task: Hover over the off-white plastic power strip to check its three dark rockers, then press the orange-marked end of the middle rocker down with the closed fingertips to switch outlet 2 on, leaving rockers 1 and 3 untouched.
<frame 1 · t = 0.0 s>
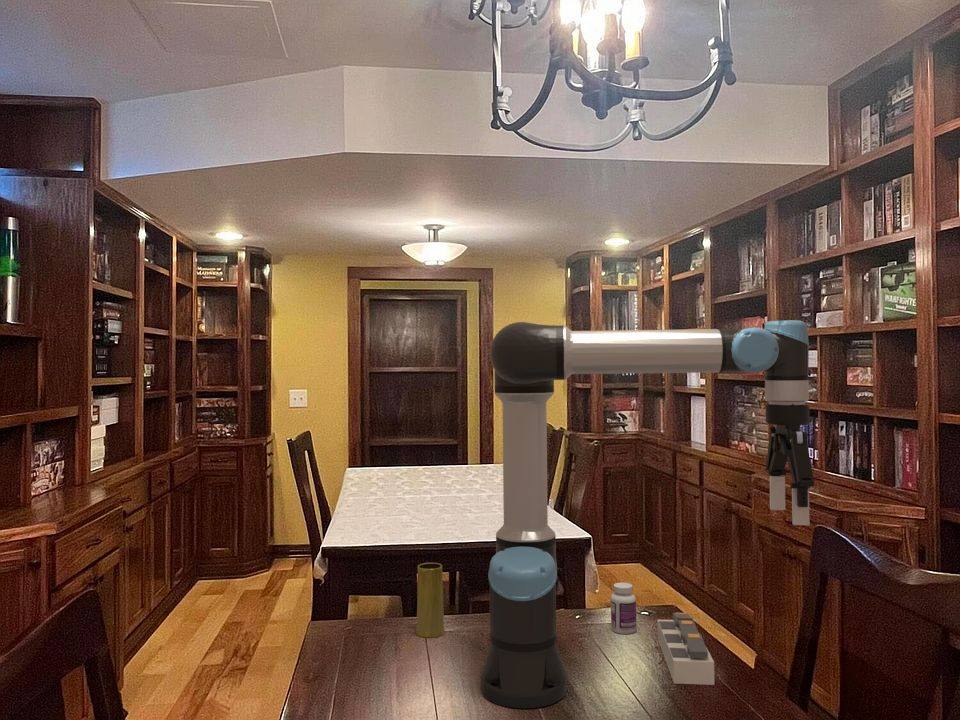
hand: (788, 517, 134), 28 cm above the table, fingers open, 13 cm apart
rocker 3: (682, 618, 145), point 6 cm above the table, hinge at -10.0°
power strip: (683, 660, 138), on the table
rocker 2: (688, 631, 138), point 6 cm above the table, hinge at 10.0°
rocker 1: (695, 645, 131), point 6 cm above the table, hinge at 10.0°
pill bottle: (623, 631, 154), on the table
vase: (430, 633, 153), on the table
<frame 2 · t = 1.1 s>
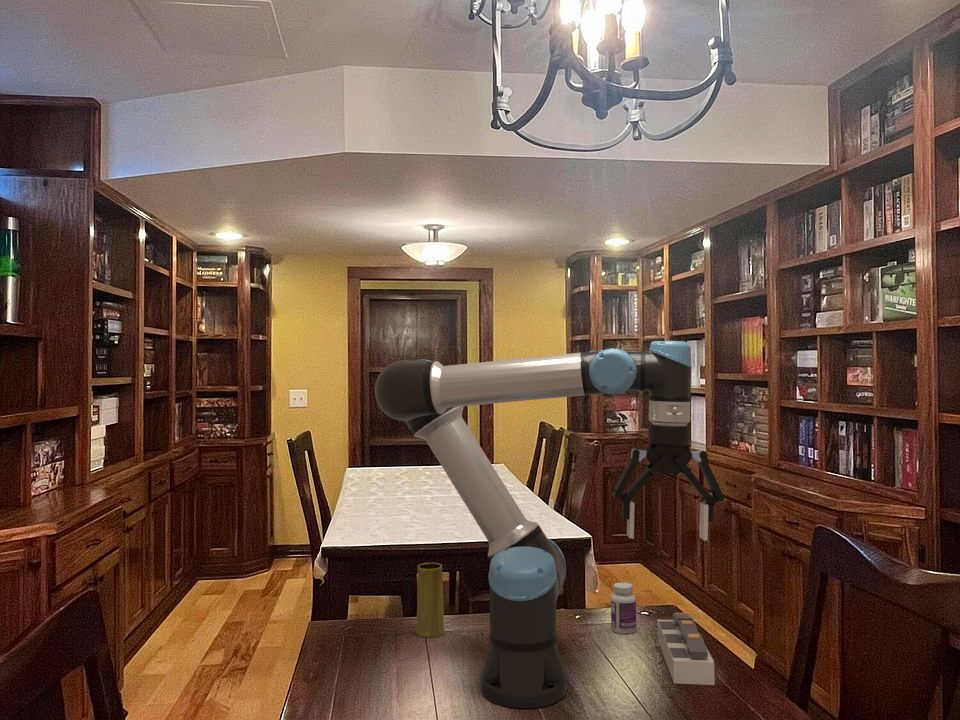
hand: (666, 538, 134), 24 cm above the table, fingers open, 13 cm apart
nothing on the table moved.
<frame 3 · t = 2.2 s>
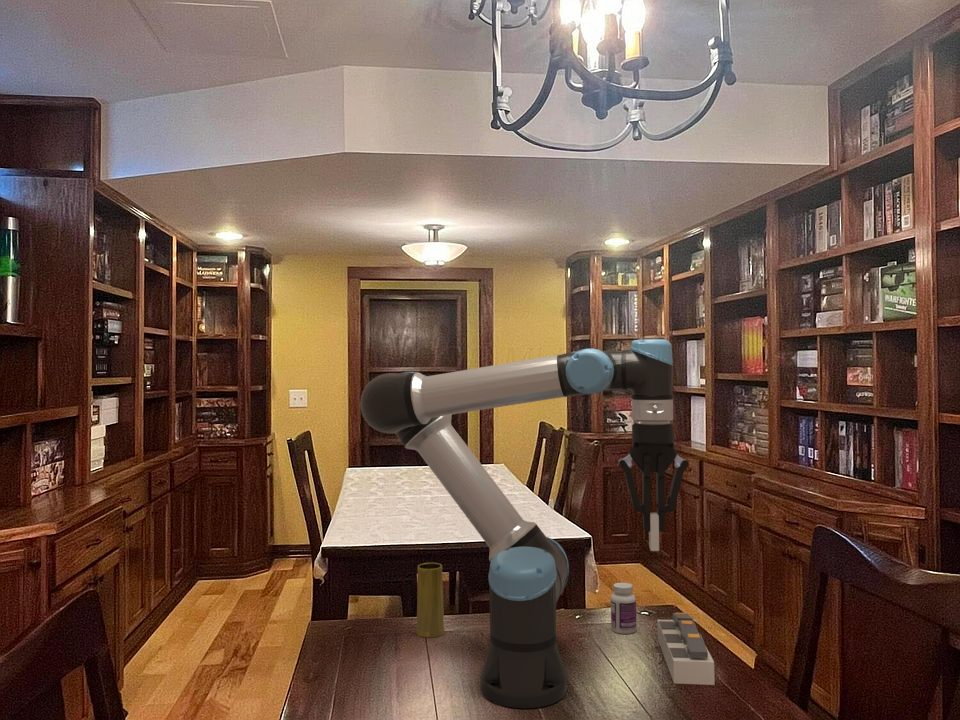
hand: (654, 549, 134), 22 cm above the table, fingers closed
nothing on the table moved.
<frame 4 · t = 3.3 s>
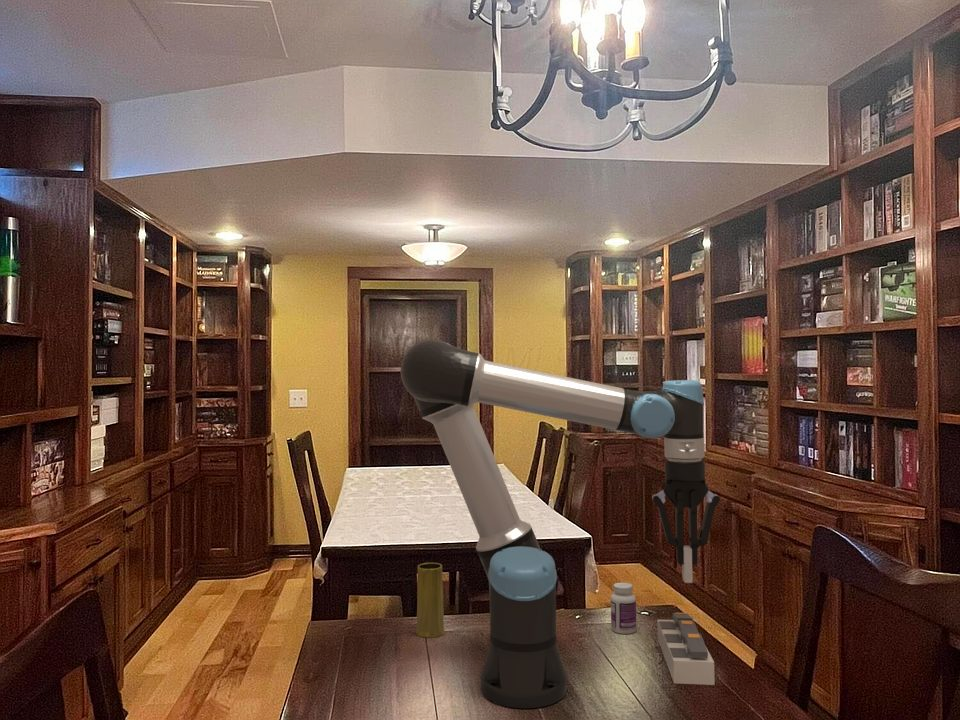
hand: (687, 580, 140), 15 cm above the table, fingers closed
nothing on the table moved.
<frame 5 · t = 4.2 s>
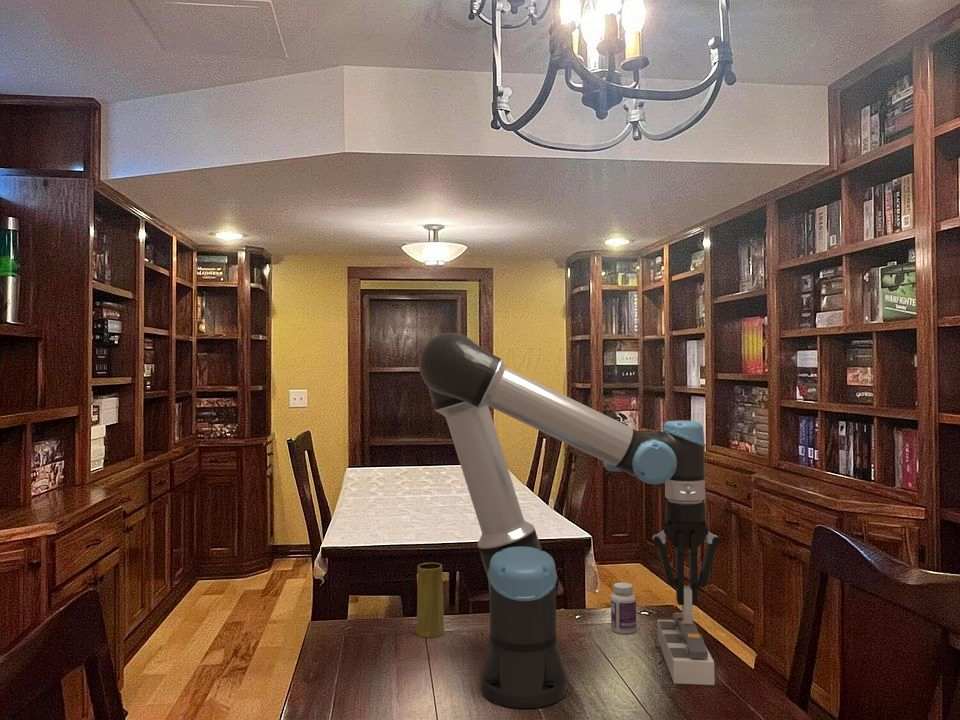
hand: (687, 621, 140), 7 cm above the table, fingers closed
rocker 2: (688, 631, 138), point 6 cm above the table, hinge at 9.8°, touching gripper
everything else where it was.
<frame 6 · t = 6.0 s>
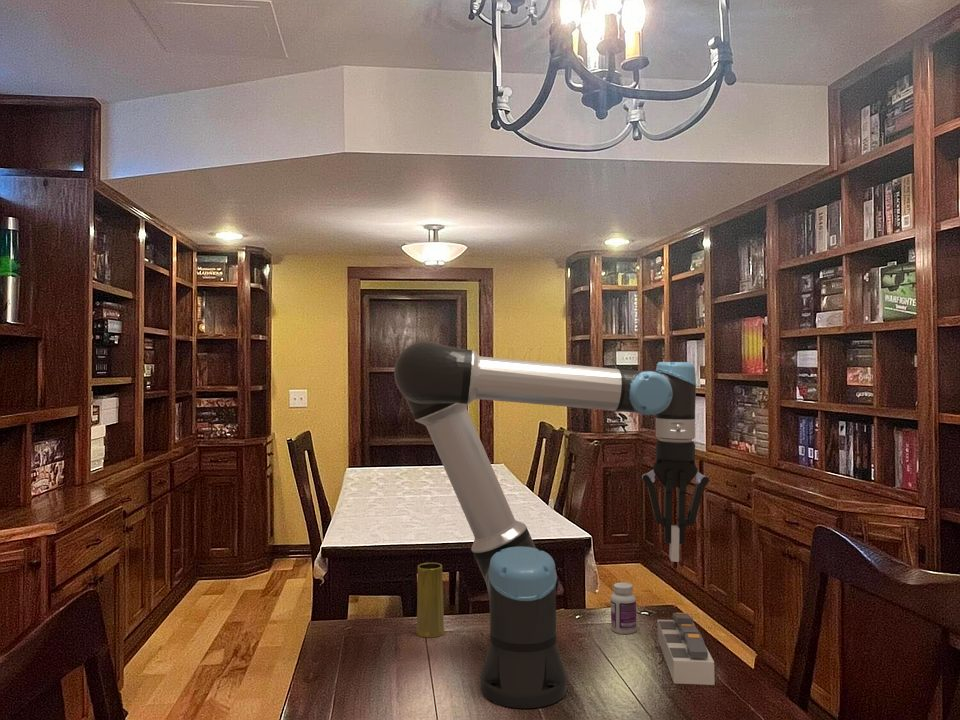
hand: (674, 559, 142), 18 cm above the table, fingers closed
rocker 2: (688, 631, 138), point 6 cm above the table, hinge at -6.5°
everything else where it was.
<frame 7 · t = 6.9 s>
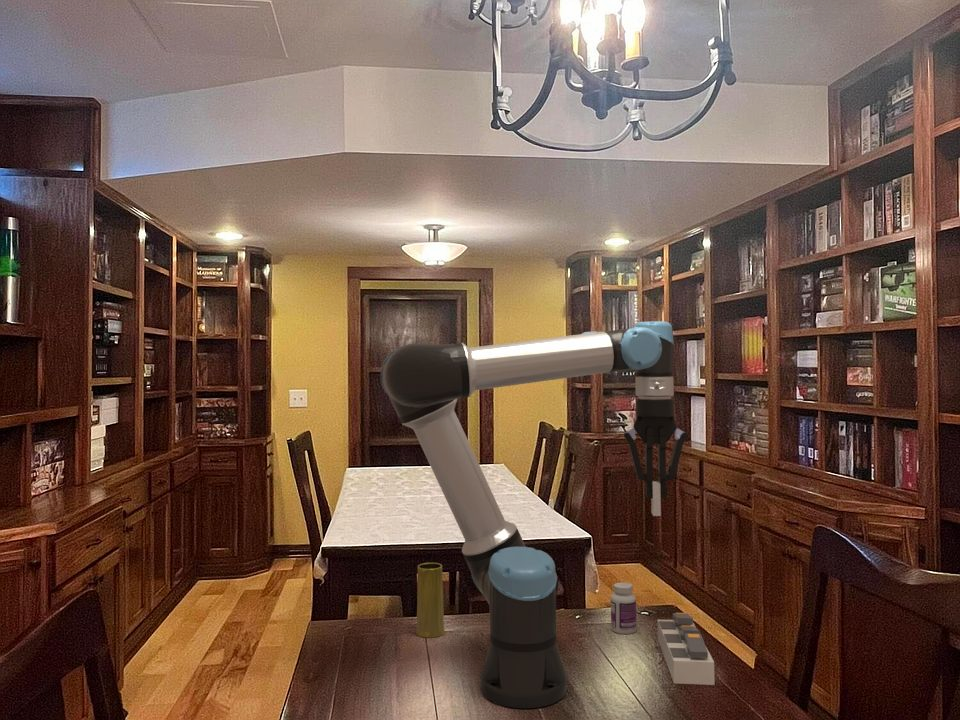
hand: (656, 514, 145), 26 cm above the table, fingers closed
rocker 3: (682, 618, 145), point 6 cm above the table, hinge at -10.5°
rocker 2: (688, 631, 138), point 6 cm above the table, hinge at -12.3°
everything else where it was.
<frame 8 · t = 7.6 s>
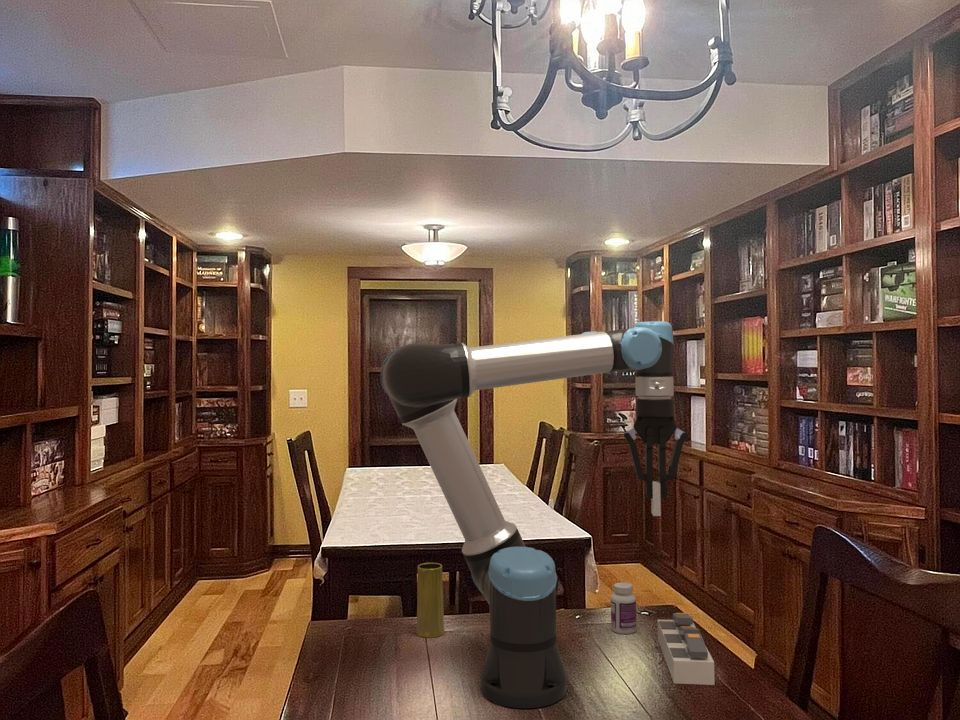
hand: (656, 514, 145), 26 cm above the table, fingers closed
rocker 2: (688, 631, 138), point 6 cm above the table, hinge at -15.9°
everything else where it was.
at the end: rocker 2 at -17° (first picture: +10°); rocker 1 at +10° (first picture: +10°); rocker 3 at -11° (first picture: -10°) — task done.
